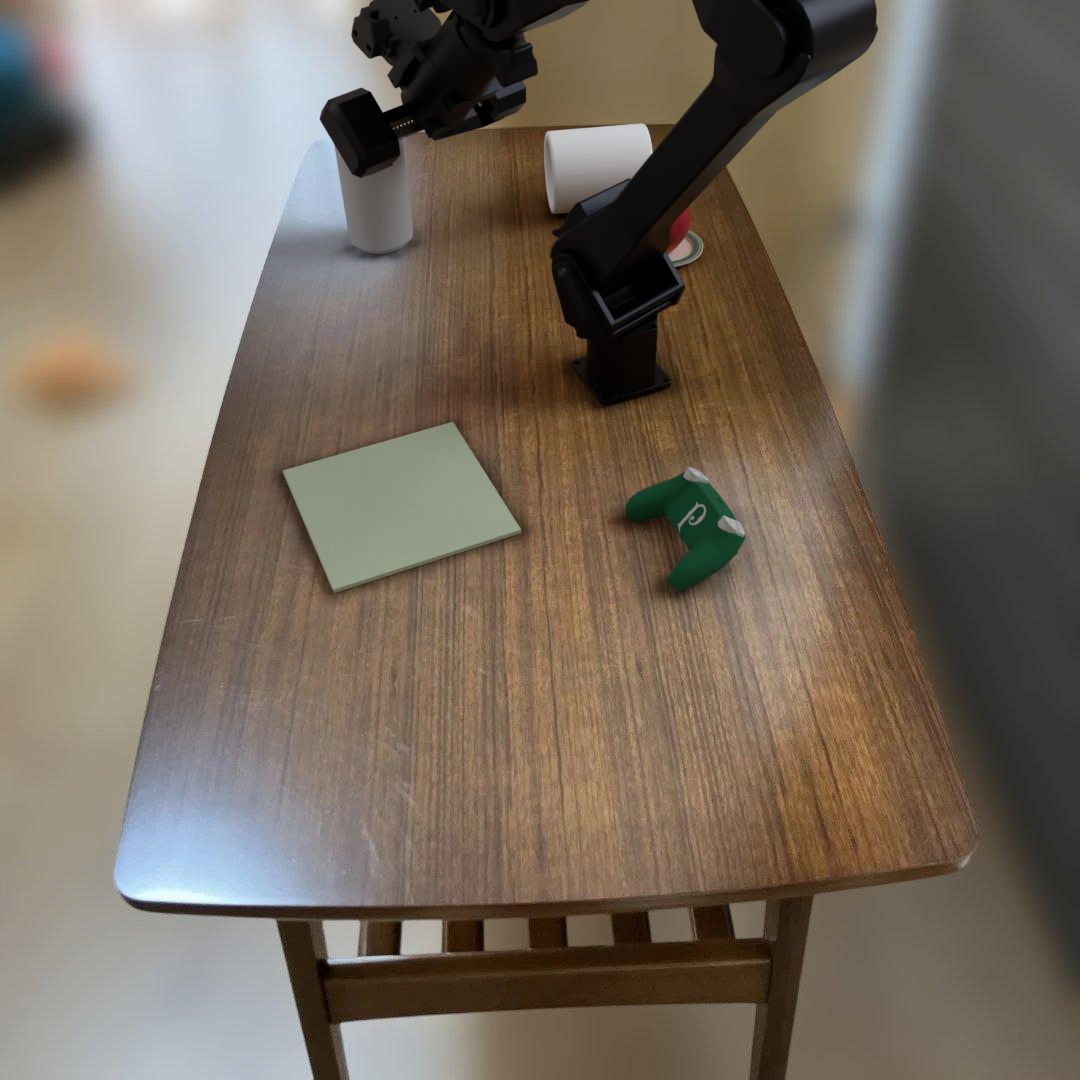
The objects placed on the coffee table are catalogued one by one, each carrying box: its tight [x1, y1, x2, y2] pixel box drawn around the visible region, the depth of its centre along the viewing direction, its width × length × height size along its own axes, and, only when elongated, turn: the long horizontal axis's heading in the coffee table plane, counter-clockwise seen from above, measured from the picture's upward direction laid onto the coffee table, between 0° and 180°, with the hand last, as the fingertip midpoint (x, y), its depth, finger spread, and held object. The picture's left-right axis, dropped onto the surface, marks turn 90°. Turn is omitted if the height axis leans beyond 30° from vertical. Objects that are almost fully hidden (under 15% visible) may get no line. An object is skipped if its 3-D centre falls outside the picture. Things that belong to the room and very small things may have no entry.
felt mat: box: [282, 421, 522, 594], centre depth 83 cm, size 14×14×1 cm
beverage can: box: [333, 128, 414, 255], centre depth 108 cm, size 6×6×12 cm
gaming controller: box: [624, 466, 747, 593], centre depth 78 cm, size 9×4×6 cm
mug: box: [543, 123, 653, 215], centre depth 115 cm, size 12×10×8 cm
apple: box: [666, 206, 704, 268], centre depth 107 cm, size 8×8×6 cm
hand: (393, 151), depth 102 cm, fingers open, 9 cm apart
